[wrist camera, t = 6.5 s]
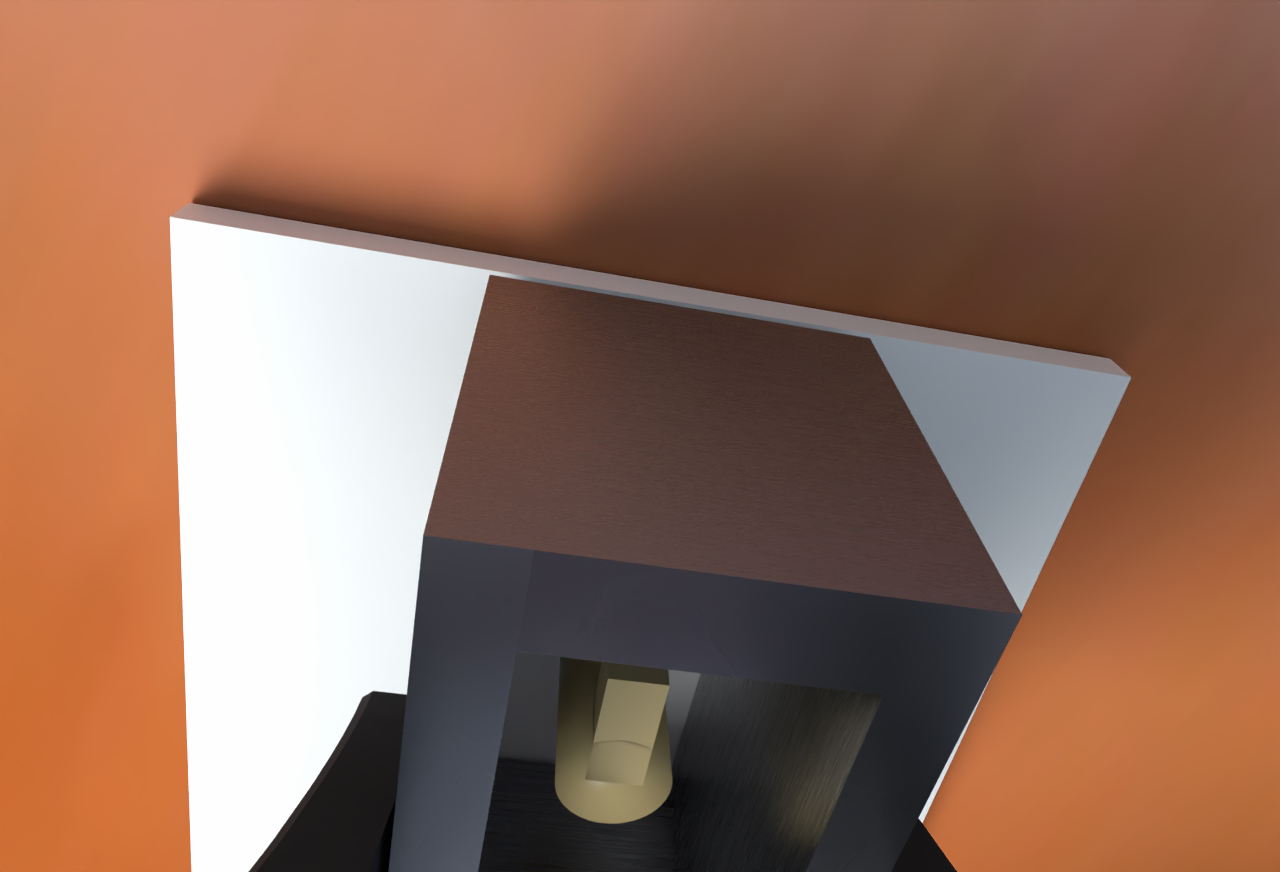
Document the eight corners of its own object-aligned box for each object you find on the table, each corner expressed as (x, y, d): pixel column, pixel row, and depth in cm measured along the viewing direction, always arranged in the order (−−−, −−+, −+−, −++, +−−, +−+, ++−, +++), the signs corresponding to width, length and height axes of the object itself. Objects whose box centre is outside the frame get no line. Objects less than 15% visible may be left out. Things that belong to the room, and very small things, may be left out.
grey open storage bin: (703, 821, 16) (739, 1166, 12) (424, 794, 16) (360, 1147, 12) (869, 338, 12) (1021, 615, 8) (489, 275, 11) (422, 535, 7)
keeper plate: (853, 923, 19) (906, 1129, 16) (204, 867, 17) (118, 1082, 14) (1110, 358, 13) (1270, 500, 10) (188, 202, 12) (41, 312, 9)
